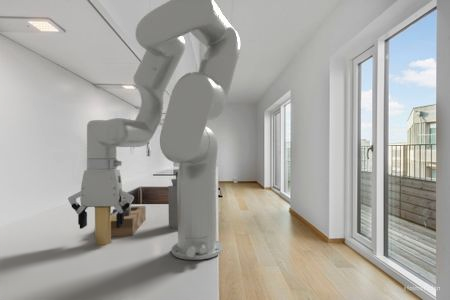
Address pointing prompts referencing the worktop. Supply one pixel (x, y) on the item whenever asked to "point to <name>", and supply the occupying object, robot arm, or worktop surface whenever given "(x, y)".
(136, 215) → the socket block
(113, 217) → the lock pin
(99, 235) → the peg
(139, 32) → the robot arm
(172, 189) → the perfume bottle
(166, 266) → the worktop surface
